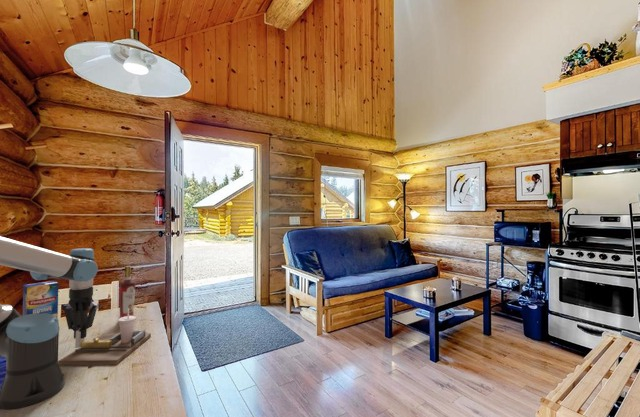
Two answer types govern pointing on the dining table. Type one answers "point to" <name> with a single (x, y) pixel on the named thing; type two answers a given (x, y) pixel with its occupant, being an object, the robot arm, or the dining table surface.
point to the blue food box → (40, 298)
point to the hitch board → (102, 352)
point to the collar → (136, 337)
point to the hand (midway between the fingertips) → (79, 346)
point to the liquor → (127, 294)
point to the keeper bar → (96, 344)
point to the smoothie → (126, 327)
